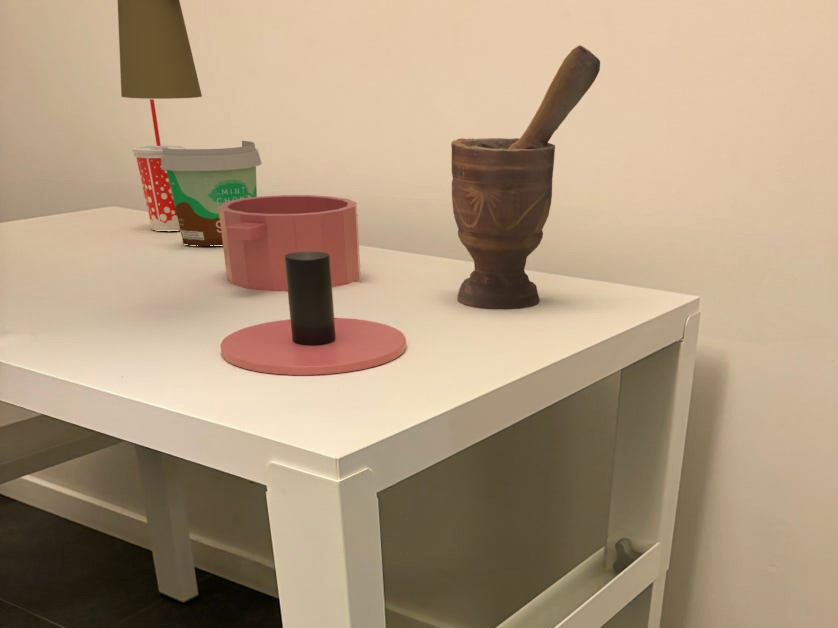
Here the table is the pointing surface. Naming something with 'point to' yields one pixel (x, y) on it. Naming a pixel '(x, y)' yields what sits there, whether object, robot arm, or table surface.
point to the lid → (312, 330)
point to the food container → (208, 186)
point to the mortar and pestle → (512, 193)
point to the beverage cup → (157, 182)
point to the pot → (288, 237)
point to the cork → (155, 51)
